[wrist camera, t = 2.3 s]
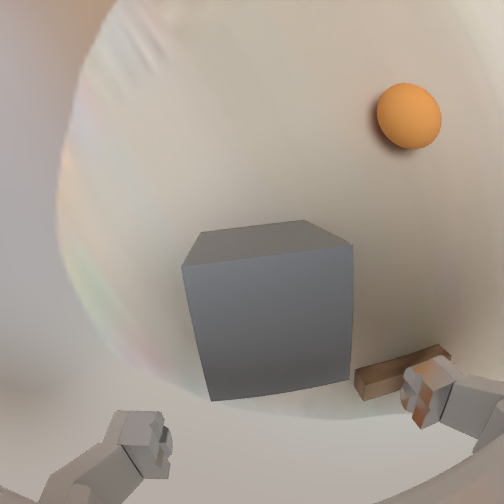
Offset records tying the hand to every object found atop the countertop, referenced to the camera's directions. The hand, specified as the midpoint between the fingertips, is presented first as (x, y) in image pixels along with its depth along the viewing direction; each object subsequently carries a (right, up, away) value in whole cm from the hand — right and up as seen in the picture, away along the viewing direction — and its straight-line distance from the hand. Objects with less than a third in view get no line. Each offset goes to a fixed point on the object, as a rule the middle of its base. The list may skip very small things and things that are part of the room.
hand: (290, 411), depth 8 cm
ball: (+10, +15, +9) cm, 20 cm away
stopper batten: (+13, -6, +17) cm, 22 cm away
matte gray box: (-1, +3, +13) cm, 14 cm away
